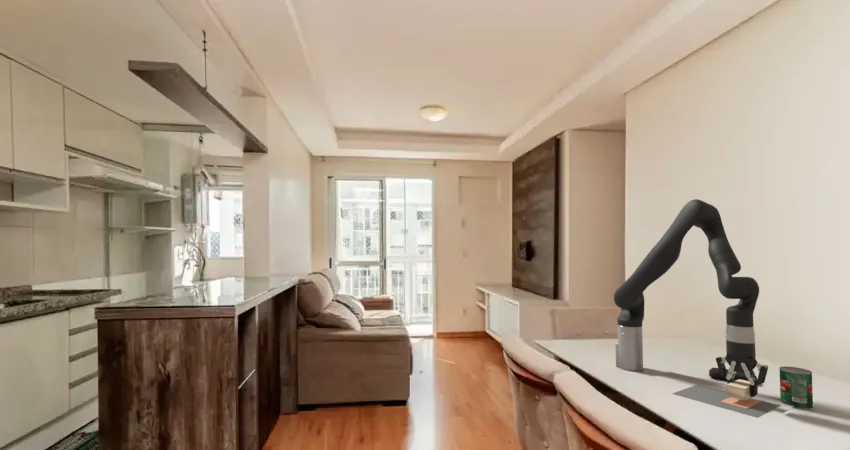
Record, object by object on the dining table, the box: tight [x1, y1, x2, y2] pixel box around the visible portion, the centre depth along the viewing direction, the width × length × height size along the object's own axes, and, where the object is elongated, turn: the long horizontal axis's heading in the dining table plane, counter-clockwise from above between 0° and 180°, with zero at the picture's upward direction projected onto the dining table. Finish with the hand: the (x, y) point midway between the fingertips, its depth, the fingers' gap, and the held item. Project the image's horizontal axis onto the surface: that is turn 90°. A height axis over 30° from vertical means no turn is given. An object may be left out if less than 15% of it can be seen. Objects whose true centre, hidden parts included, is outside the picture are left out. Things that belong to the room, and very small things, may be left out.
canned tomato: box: [779, 366, 814, 411], centre depth 136 cm, size 8×8×11 cm
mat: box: [671, 383, 782, 419], centre depth 140 cm, size 24×18×1 cm
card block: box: [725, 379, 759, 401], centre depth 138 cm, size 10×5×4 cm, turn 124°
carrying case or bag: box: [708, 367, 758, 382], centre depth 162 cm, size 11×3×15 cm
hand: (742, 393), depth 138 cm, fingers closed on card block, 5 cm apart
